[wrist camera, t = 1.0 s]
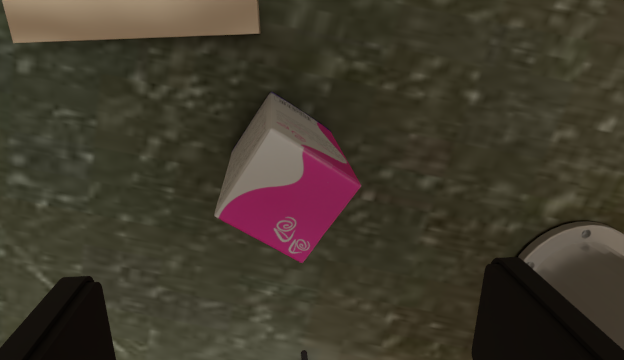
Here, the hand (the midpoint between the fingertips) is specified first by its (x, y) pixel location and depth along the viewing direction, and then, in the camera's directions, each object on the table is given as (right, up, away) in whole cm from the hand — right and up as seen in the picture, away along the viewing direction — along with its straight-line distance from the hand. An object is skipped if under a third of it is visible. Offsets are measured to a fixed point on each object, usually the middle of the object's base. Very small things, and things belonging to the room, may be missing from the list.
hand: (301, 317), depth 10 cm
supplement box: (-2, +6, +22) cm, 23 cm away
